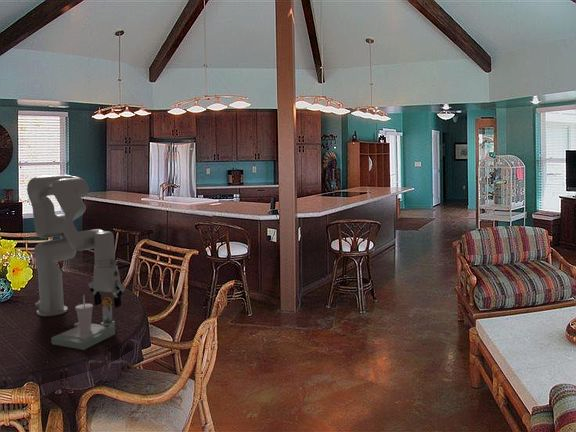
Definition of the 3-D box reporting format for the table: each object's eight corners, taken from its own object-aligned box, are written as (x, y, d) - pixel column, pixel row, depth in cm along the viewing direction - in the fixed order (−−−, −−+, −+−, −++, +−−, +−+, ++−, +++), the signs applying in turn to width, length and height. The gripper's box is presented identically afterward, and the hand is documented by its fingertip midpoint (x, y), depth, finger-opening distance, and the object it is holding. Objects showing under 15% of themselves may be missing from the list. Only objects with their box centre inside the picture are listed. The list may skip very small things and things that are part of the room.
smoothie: (76, 334, 199) (74, 298, 197) (76, 329, 205) (74, 293, 203) (95, 332, 202) (93, 296, 200) (93, 326, 208) (92, 291, 206)
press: (38, 341, 200) (37, 333, 200) (79, 323, 219) (78, 316, 219) (83, 349, 192) (83, 342, 192) (121, 330, 212) (121, 323, 211)
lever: (100, 328, 211) (98, 298, 209) (107, 324, 215) (105, 295, 213) (108, 329, 209) (107, 299, 208) (115, 326, 213) (114, 296, 211)
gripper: (129, 262, 208) (131, 305, 211) (94, 259, 215) (97, 301, 217) (116, 266, 202) (119, 310, 204) (80, 263, 208) (83, 306, 210)
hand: (107, 305), depth 210 cm, fingers open, 9 cm apart
